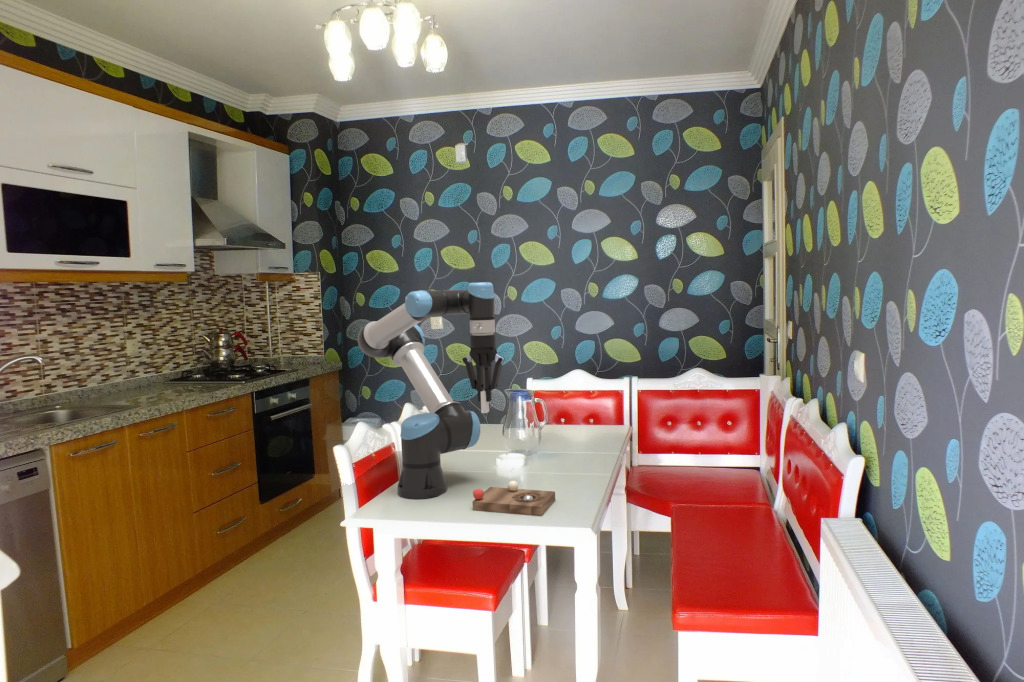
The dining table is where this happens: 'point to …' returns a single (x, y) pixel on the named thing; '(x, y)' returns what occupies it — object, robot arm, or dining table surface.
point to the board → (514, 501)
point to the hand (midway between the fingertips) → (485, 412)
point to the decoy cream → (513, 485)
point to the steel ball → (528, 497)
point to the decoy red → (478, 494)
